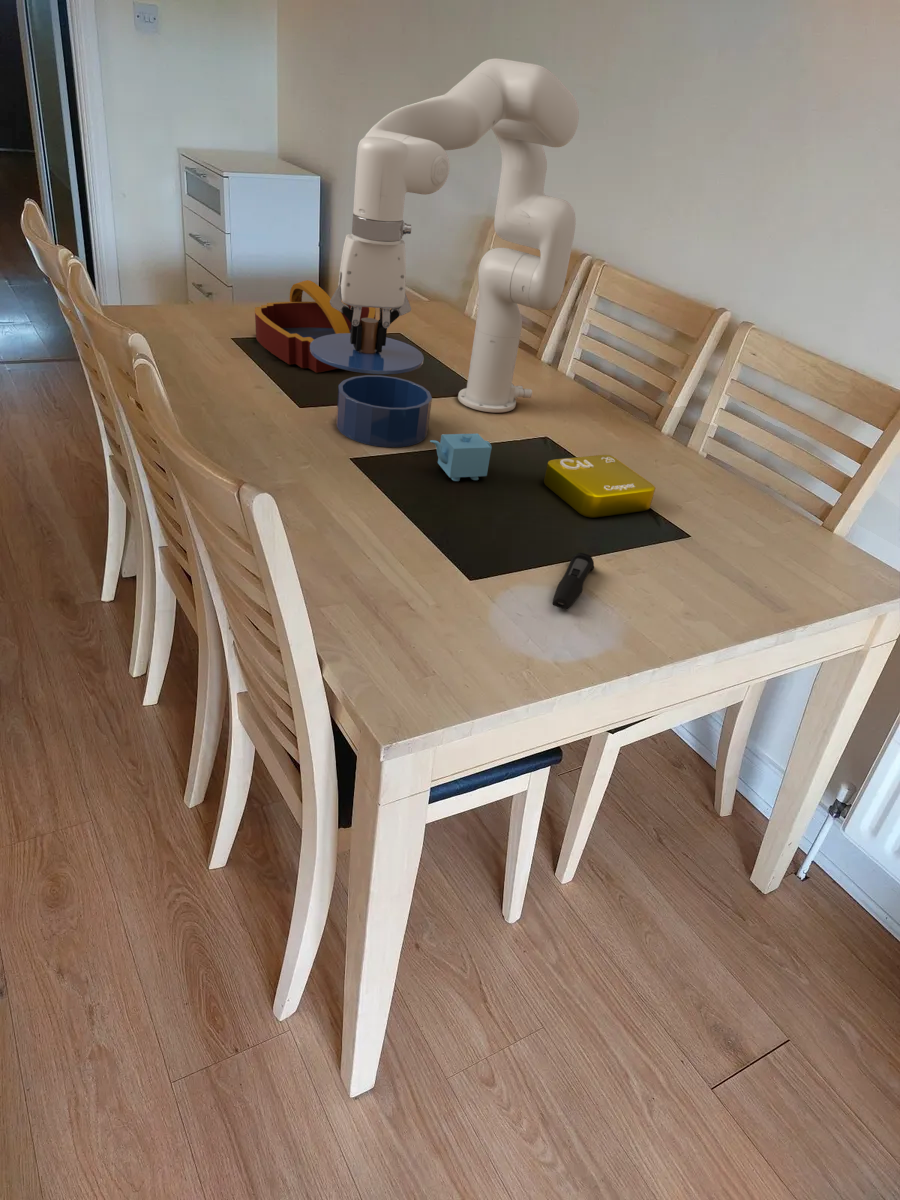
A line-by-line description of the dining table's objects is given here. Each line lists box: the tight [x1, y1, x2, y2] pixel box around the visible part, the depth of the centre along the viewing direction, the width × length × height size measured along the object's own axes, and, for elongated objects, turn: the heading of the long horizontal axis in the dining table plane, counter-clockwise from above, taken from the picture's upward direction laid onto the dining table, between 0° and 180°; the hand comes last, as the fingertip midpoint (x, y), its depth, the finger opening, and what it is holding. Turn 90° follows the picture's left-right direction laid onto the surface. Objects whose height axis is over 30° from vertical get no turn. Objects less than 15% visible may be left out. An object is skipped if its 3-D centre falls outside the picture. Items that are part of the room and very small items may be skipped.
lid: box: [310, 318, 425, 375], centre depth 141 cm, size 19×19×6 cm
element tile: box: [543, 454, 656, 519], centre depth 154 cm, size 15×15×5 cm
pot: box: [335, 374, 433, 448], centre depth 167 cm, size 18×18×8 cm
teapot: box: [429, 433, 493, 482], centre depth 154 cm, size 12×6×8 cm, turn 111°
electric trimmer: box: [551, 552, 595, 611], centre depth 127 cm, size 4×16×3 cm, turn 159°
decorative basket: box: [254, 279, 377, 374], centre depth 200 cm, size 34×29×15 cm
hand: (367, 348), depth 142 cm, fingers closed on lid, 2 cm apart
